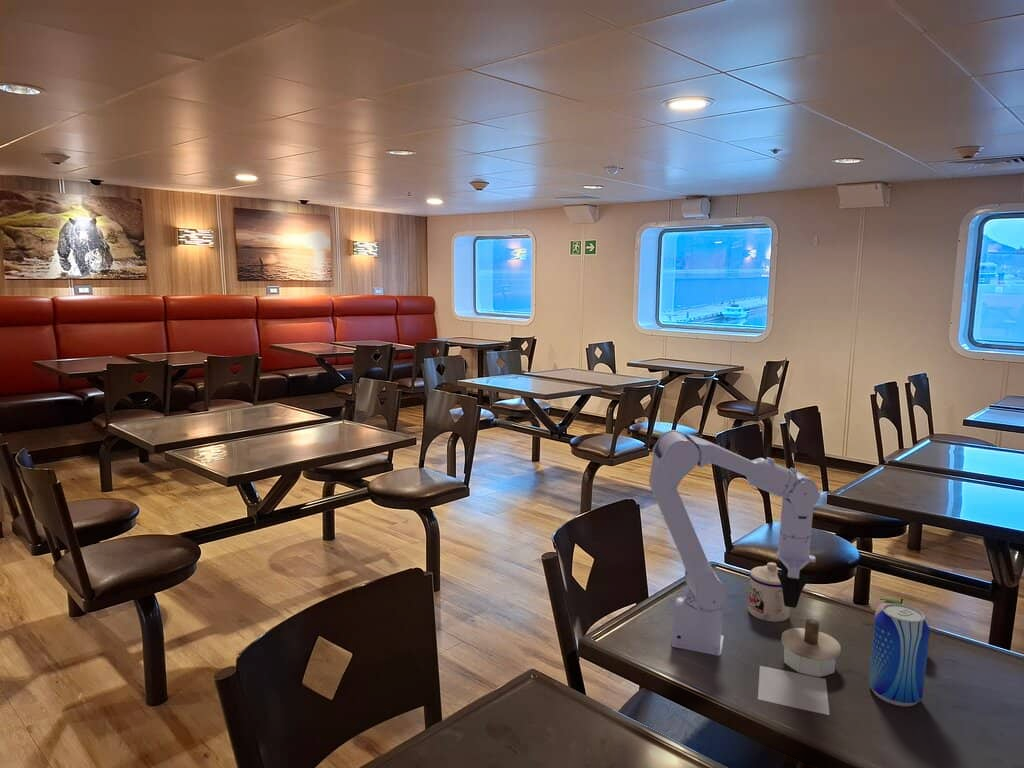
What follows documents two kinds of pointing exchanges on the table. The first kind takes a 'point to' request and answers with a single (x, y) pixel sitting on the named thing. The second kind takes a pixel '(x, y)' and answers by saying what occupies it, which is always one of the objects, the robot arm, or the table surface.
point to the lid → (811, 642)
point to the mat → (793, 690)
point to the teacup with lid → (767, 594)
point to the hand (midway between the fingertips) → (790, 598)
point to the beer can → (899, 655)
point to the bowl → (809, 664)
